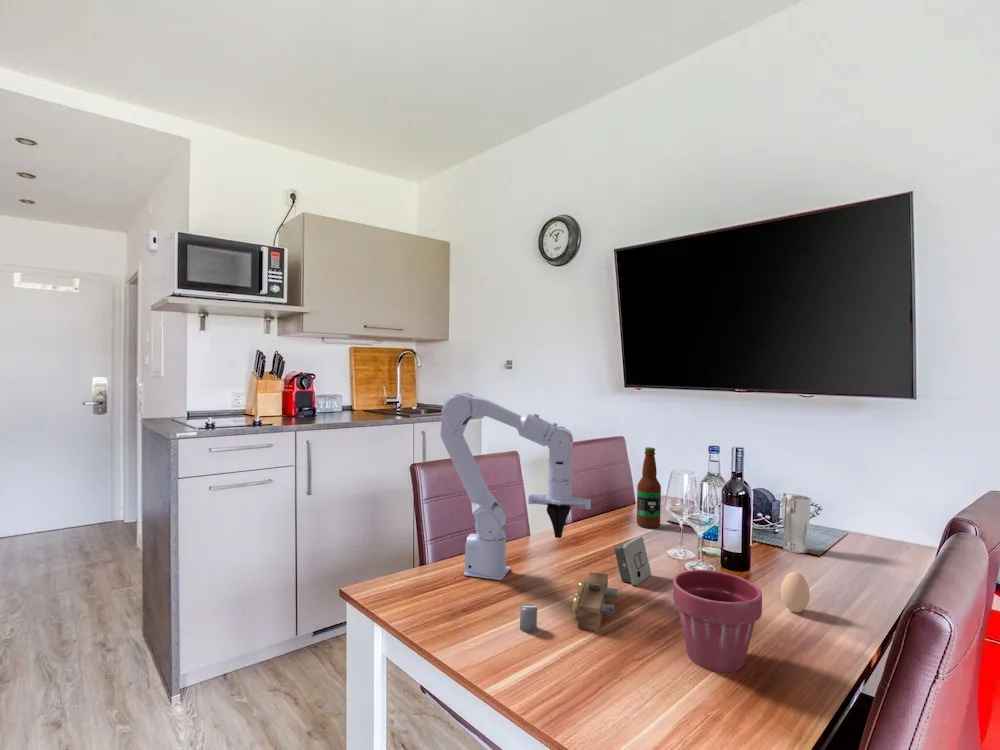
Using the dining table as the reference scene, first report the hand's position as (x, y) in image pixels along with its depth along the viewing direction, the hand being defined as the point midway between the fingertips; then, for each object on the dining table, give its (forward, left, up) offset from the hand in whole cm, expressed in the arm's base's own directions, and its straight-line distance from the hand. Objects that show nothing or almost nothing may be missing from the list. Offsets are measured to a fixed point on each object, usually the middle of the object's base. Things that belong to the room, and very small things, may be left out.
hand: (558, 536), depth 126 cm
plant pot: (+32, -26, -10) cm, 42 cm away
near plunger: (+10, -18, -9) cm, 23 cm away
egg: (+50, -1, -10) cm, 51 cm away
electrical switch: (+17, +6, -10) cm, 21 cm away
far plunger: (+10, -10, -9) cm, 17 cm away
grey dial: (-1, -26, -10) cm, 28 cm away
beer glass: (+60, +43, -10) cm, 75 cm away
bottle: (+20, +53, -10) cm, 58 cm away
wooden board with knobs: (+10, -14, -10) cm, 20 cm away
